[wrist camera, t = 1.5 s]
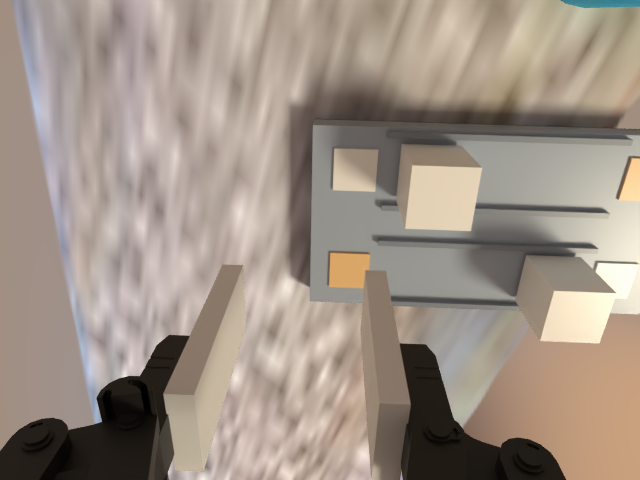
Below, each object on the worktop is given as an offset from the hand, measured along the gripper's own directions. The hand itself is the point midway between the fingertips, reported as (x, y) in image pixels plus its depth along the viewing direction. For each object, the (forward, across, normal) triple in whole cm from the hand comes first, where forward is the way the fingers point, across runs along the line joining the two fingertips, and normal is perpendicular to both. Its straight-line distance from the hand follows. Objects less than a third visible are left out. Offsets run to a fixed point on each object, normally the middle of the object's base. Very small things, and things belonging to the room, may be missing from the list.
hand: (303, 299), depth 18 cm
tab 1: (+17, +8, 0) cm, 18 cm away
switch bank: (+19, +12, -4) cm, 23 cm away
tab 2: (+17, +18, -8) cm, 25 cm away
